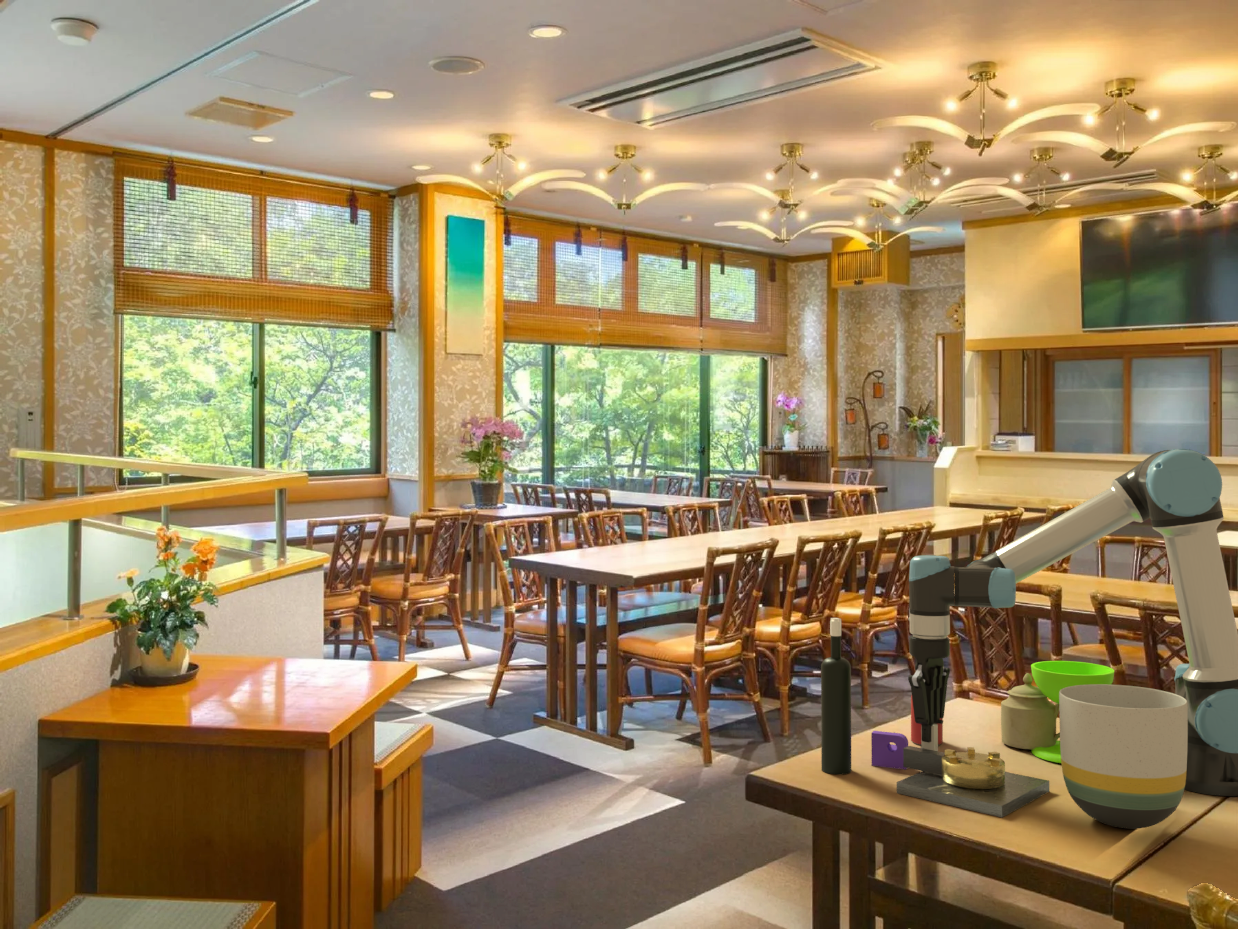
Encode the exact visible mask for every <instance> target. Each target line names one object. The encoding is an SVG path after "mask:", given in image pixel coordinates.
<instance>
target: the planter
mask: <svg viewBox="0 0 1238 929" xmlns="http://www.w3.org/2000/svg"><path fill="white" fill-rule="evenodd" d="M1058 718H1059V732H1060V738H1059V741H1060V748H1061V763H1060V764H1061V771H1062V776H1063V781H1064V783H1065V786H1066V790H1067V792H1068V794H1069V795H1070V797H1071V799H1072V800H1073V801H1074V804H1076V805H1077V807H1079V809H1081V810H1082V811H1083V812H1084V813H1085V814H1087V815H1088V816H1089V817H1091V818H1092V819H1094V820H1095V821H1097V822H1100V823H1102V824H1105V825H1107V826H1111V827H1114V828H1119V829H1120V828H1122V829H1129V830H1130V829H1132V830H1133V829H1134V830H1136V829H1144V828H1145V829H1146V828H1149V827H1153V826H1156V825H1158V824H1160V823H1162V822H1163V821H1165V820H1166V819H1167V818H1169V817H1170V816H1171V815H1172V814H1173V813H1174V812H1175V811H1176V810H1177V809H1178V807H1179V805H1180V803H1181V801H1182V798H1183V795H1184V792H1185V790H1184V788H1185V783H1186V771H1187V744H1188V703H1187V700H1186V699H1185V698H1183V697H1181V696H1179V695H1176V694H1175V693H1173V692H1170V691H1164V690H1161V689H1155V688H1150V687H1141V686H1135V685H1134V686H1133V685H1122V684H1111V685H1107V684H1090V685H1076V686H1070V687H1066V688H1063V689H1061V690H1060V692H1059V713H1058Z"/></svg>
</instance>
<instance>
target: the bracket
mask: <svg viewBox="0 0 1238 929" xmlns="http://www.w3.org/2000/svg"><path fill="white" fill-rule="evenodd" d="M870 741H871V743H870V744H871V766H872V767H881V768H889V769H897V770H904V771H905V770H907V769H908V768H906V767H903V748H905V747H908V746H909V740H908V737H907V736H906V735H905V734H903V733H899V732H890V731H889V732H888V731H879V730H873V731H872V732H871V740H870ZM891 743H893V744H891Z"/></svg>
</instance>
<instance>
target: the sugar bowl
mask: <svg viewBox="0 0 1238 929" xmlns="http://www.w3.org/2000/svg"><path fill="white" fill-rule="evenodd" d="M1033 681H1034V679H1033V676H1032V674H1030V673H1029V672H1026V674H1024V676H1023V678H1022V682H1023V683H1024V684H1022V685H1017V686H1016V685H1015V686H1013V687H1012V688H1011V689H1009V690H1008V691H1006V693H1007V694H1008V697H1007V698H1006V699H1004V700H1002V701H1001V702H1000V726H1001V727H1000V729H1001V730H1000V732H1001V733H1000V734H1001V742H1002V743H1003V744H1005V745H1007V746H1009V747H1012V748H1017V749H1023V750H1032V749H1034V748H1036V747H1050V746H1053V745H1055V744H1056V741H1059V739H1060V731H1059V732H1058V733H1057V719H1058V717H1059V704H1058V703H1055V704H1054V703H1053V702H1052V701H1049V700H1050V699H1049V698H1048V697H1046V696H1045V695H1044V694H1043V693H1042V692H1041V690H1040V689H1039V688H1038V686H1035V685H1032V683H1033Z"/></svg>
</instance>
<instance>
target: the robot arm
mask: <svg viewBox="0 0 1238 929" xmlns="http://www.w3.org/2000/svg"><path fill="white" fill-rule="evenodd" d="M1221 475H1222V474H1221V471H1220V470H1219V468H1218V467H1217V465H1216V464H1215V462H1213V460H1211V458H1208V457H1207V456H1206V455H1204V454H1203V453H1201V452H1198V451H1196V450H1193V449H1190V448H1189V449H1188V448H1176V449H1175V448H1173V449H1167V450H1160V451H1158V452H1155V453H1153V454H1151V455H1150V456H1148V457H1146V458H1145V459H1143V460H1142V461H1141V462H1140V463H1138V464H1136V465H1135V466H1134V467H1133V468H1131V469H1129V470H1128V471H1127V472H1125V473H1123V474H1122V475H1120V476H1118V477H1116V478H1115V479H1112V482H1111V486H1109V488H1107V489H1106V490H1104V491H1102V492H1101V493H1099V494H1096V495H1095V496H1093V497H1091V498H1089V499H1087V500H1086V501H1084V502H1082V503H1081V504H1079V505H1077V506H1075V507H1073V508H1072V509H1069V510H1067V511H1065V512H1064V513H1062V514H1061V515H1059V516H1057V517H1055V518H1053V519H1051V520H1049V521H1047V522H1046V523H1043V525H1040V526H1039V527H1037V528H1035V529H1033V530H1031V531H1029V532H1028V533H1026V534H1024V535H1022V536H1021V537H1018V538H1017V539H1015V540H1013V541H1011V542H1009V543H1008V544H1006V545H1004V546H1002V547H1001V548H999V549H997V550H995V551H994V552H992V553H990V554H988V555H986V556H985V557H982V558H980V559H976V560H974V561H972V562H970V563H969V564H967V566H964V567H958V566H951V563H950V562H951V561H950V558H949V557H948V556H944V555H929V554H927V555H926V554H925V555H915V556H913V557H912V558H911V559H910V560H909V572H908V573H909V576H908V577H909V579H908V590H909V592H908V596H909V597H908V598H909V602H908V603H909V604H908V606H909V617H908V620H907V621H909V633H910V634H912V635H910V637H909V639H908V640H909V642H908V644H909V648H908V649H909V650H908V652H909V654H910V656H912V657H913V658H915V665H914V669H915V672H914V674H913V675H912V674H909V675H908V678H907V679H908V683H909V685H910V691H911V695H912V701H913V709H914V717H915V722H916V723H918V724H921V745H920V748H923V749H928V750H933V751H938V752H939V745H938V724H944V717H945V708H946V701H947V691H948V690H947V689H948V681H949V678H950V674H951V672H950V671H951V669H950V668H949V667H945V665H944V664H945V663H944V659H946V658H947V659H948V658H949V657H950V654H951V651H950V650H951V646H950V644H951V643H950V642H951V641H950V640H951V639H950V638H949V637H948V636H949V635H950V634H951V616H950V615H951V614H950V612H951V611H950V607H951V606H952V607H953V606H954V607H972V608H973V607H976V608H991V609H993V608H994V609H1001V608H1002V609H1004V608H1007V609H1008V608H1013V607H1014V606H1015V604H1016V596H1017V593H1016V592H1017V584H1018V583H1019V582H1020V583H1021V582H1023V580H1025V579H1027V578H1029V577H1031V576H1033V575H1035V574H1037V573H1039V572H1041V571H1043V570H1044V569H1046V568H1048V567H1050V566H1052V565H1053V564H1056V563H1057V562H1059V561H1061V560H1063V559H1064V558H1066V557H1068V556H1070V555H1073V554H1074V553H1076V552H1078V551H1080V550H1081V549H1083V548H1086V547H1088V546H1089V545H1091V544H1093V543H1095V542H1097V541H1099V540H1100V539H1102V538H1104V537H1106V536H1107V535H1110V534H1112V533H1113V532H1115V531H1117V530H1119V529H1121V528H1123V527H1125V526H1127V525H1128V524H1131V523H1132V522H1137V523H1143V522H1145V521H1147V520H1149V519H1150V523H1151V527H1152V530H1154V531H1155V532H1157V533H1160V535H1161V536H1163V540H1164V544H1165V549H1166V554H1167V560H1168V564H1169V569H1170V575H1171V579H1172V585H1173V590H1174V594H1175V599H1176V604H1177V608H1178V609H1177V610H1178V613H1179V619H1180V624H1181V627H1182V628H1181V629H1182V633H1183V638H1184V644H1185V648H1186V653H1187V658H1188V661H1189V662H1188V663H1180V664H1178V665H1177V666H1176V668H1175V676H1174V678H1173V680H1174V683H1175V684H1174V685H1175V690H1174V691H1175V692H1174V694H1176V695H1179V696H1181V697H1183V698H1185V699H1186V700H1187V703H1188V744H1187V771H1186V783H1185V788H1184V791H1189V792H1193V793H1197V794H1202V795H1210V796H1218V797H1219V796H1220V797H1238V629H1237V623H1236V619H1235V614H1234V608H1233V605H1232V598H1231V595H1230V590H1229V585H1228V580H1227V573H1226V569H1225V564H1224V561H1223V560H1224V559H1223V556H1222V551H1221V546H1220V540H1219V537H1218V531H1217V530H1218V527H1219V526H1220V525H1221V523H1222V522H1223V520H1224V519H1225V517H1224V512H1223V508H1222V502H1221V494H1222V490H1223V479H1222V476H1221ZM940 718H943V720H940ZM937 723H938V724H937Z"/></svg>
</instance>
